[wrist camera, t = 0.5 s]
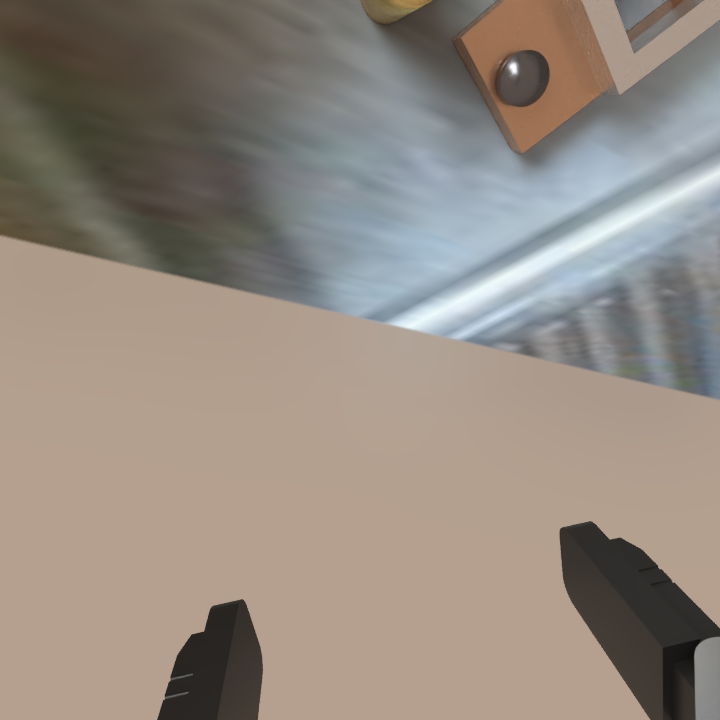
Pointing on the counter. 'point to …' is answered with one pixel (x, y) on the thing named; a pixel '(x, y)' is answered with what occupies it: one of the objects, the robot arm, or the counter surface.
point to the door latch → (567, 56)
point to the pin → (391, 9)
